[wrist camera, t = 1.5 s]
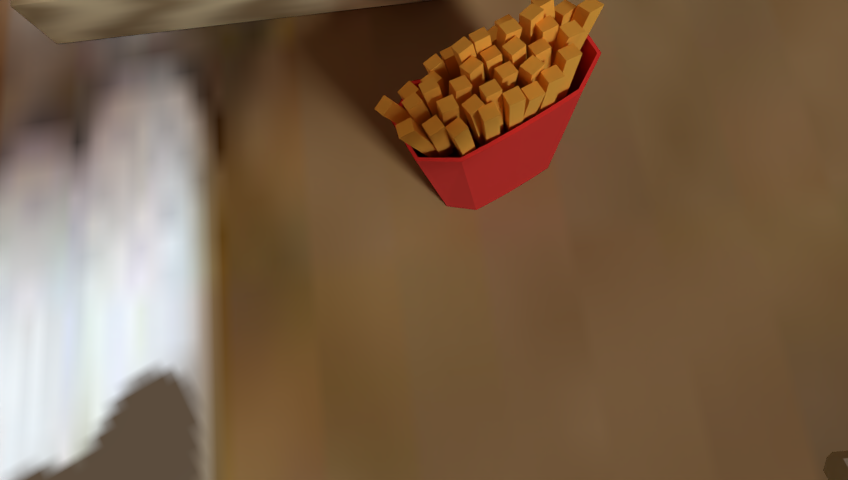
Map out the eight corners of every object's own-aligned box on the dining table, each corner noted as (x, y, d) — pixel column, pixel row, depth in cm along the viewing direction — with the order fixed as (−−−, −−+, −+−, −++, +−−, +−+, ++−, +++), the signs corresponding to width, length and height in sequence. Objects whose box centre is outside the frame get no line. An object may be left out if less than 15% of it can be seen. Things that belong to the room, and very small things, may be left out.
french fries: (541, 84, 37) (569, -56, 26) (585, 150, 37) (634, 35, 25) (393, 171, 37) (352, 68, 25) (433, 238, 36) (411, 165, 24)
